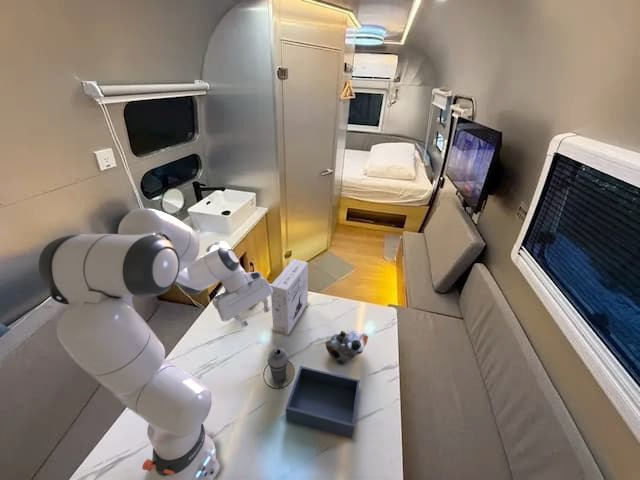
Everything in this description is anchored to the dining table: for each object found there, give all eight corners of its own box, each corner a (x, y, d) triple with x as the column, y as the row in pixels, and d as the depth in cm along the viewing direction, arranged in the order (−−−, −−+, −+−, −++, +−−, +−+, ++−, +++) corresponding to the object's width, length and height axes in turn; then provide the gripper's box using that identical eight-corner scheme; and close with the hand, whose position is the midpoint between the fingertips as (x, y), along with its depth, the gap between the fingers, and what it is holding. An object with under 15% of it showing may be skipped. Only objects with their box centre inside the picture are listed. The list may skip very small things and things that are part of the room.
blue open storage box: (352, 439, 85) (354, 427, 82) (286, 420, 89) (285, 408, 86) (357, 392, 98) (359, 379, 95) (300, 377, 102) (300, 365, 99)
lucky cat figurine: (343, 332, 122) (361, 316, 114) (358, 357, 116) (378, 342, 109) (319, 343, 111) (337, 325, 104) (335, 371, 105) (355, 354, 98)
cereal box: (288, 335, 120) (286, 290, 107) (273, 329, 122) (270, 285, 110) (307, 303, 137) (308, 262, 125) (294, 299, 140) (293, 258, 127)
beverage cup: (285, 391, 97) (284, 353, 88) (266, 387, 99) (262, 349, 89) (291, 373, 104) (290, 336, 94) (273, 369, 105) (270, 332, 95)
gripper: (212, 296, 87) (233, 334, 86) (263, 269, 100) (282, 302, 100) (207, 300, 92) (227, 337, 91) (257, 274, 105) (275, 305, 104)
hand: (256, 318), depth 95 cm, fingers open, 8 cm apart
